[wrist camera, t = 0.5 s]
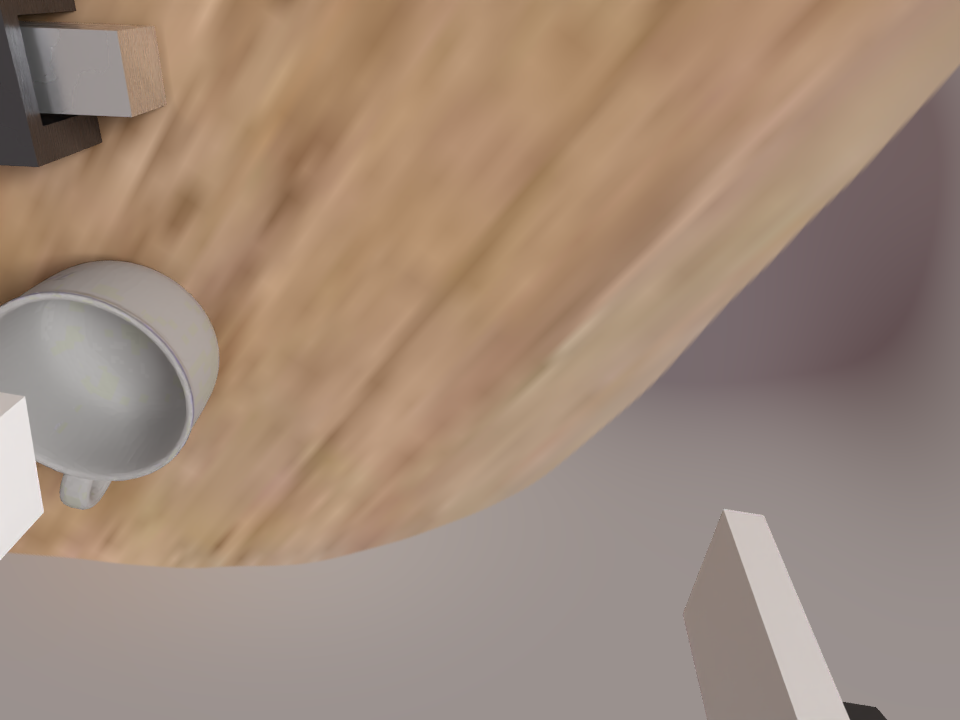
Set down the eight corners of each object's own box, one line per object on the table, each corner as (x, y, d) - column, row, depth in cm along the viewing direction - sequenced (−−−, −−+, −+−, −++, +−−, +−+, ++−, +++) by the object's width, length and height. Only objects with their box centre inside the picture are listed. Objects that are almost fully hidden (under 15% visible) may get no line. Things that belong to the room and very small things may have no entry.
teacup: (87, 204, 40) (-8, 254, 33) (271, 301, 42) (217, 366, 35) (27, 394, 46) (-65, 470, 39) (190, 470, 48) (131, 556, 41)
